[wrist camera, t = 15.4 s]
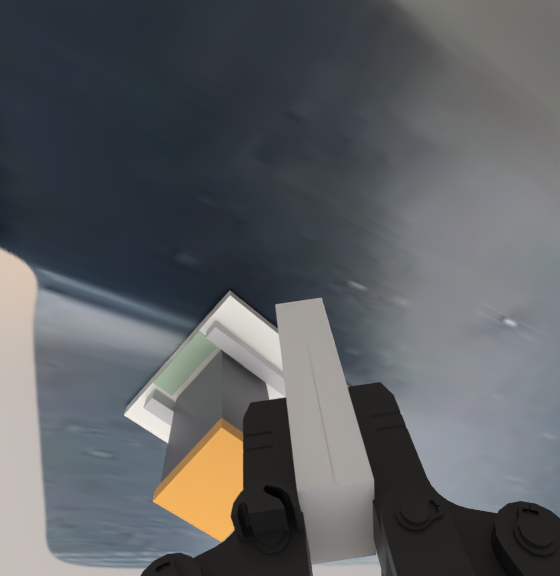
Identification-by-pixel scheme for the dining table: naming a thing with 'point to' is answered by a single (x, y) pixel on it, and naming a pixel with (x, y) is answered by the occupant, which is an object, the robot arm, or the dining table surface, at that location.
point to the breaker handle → (209, 446)
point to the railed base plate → (201, 350)
